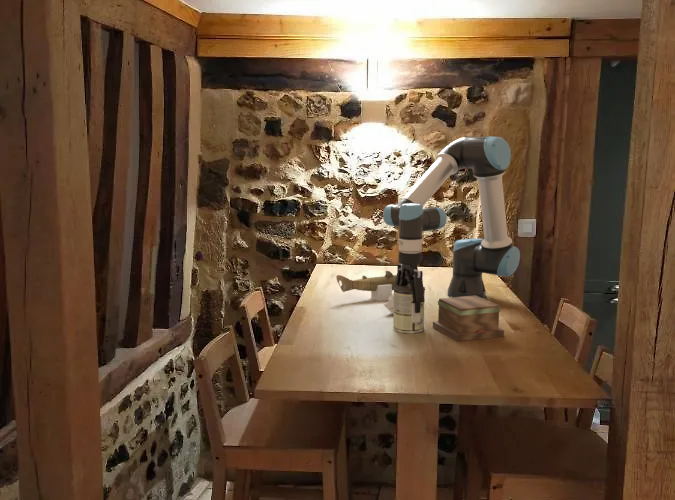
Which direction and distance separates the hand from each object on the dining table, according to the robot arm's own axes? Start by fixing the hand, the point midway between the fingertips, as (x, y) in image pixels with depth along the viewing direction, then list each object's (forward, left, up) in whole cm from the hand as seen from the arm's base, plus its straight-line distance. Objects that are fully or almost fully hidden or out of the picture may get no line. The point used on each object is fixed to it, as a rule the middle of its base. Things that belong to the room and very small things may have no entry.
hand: (408, 317), depth 207 cm
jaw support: (-8, -21, -4) cm, 23 cm away
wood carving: (-6, -41, -4) cm, 42 cm away
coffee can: (0, 0, -4) cm, 4 cm away
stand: (-17, +9, -4) cm, 20 cm away
